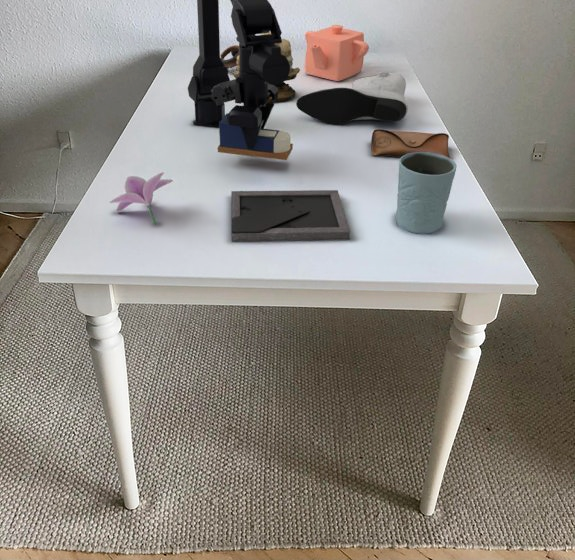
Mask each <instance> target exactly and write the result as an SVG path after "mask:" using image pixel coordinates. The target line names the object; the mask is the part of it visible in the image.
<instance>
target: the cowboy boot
mask: <svg viewBox="0 0 575 560" xmlns="http://www.w3.org/2000/svg"><path fill="white" fill-rule="evenodd" d="M406 88H407V80H406V78H405V76H403V75H402V74H399V73H389V72H381V73H380V74H378V75H372V76H367V77H361V78H357V79H356V80H354V81H353V83H352V87H343V86H342V87H332V88H324V89H318V90H314V91H311V92H309V93H306V94H303V95H301V96H300V97H298V99H297V100H296V102H295V105H296V108H297V109H298V110H299V111H301V113H304V114H305V115H307V116H308V117H311V118H313V119H315V120H316V121H319V122H321V123H325V124H328V125H333V126H340V125H345V124H347V123H350V122H352V121H358V120H359V121H363V120H364V121H365V120H366V121H367V120H374V121H375V120H376V121H381V122H390V123H392V122H394V123H395V122H399V121H401V120H403V119H404V118H405V117H406V114H407V113H408V110H409V109H408V102H407V101H406V98H405V92H406Z"/></svg>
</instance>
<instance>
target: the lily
mask: <svg viewBox="0 0 575 560" xmlns="http://www.w3.org/2000/svg"><path fill="white" fill-rule="evenodd" d="M164 173H165V172H163V171H162V172H160V173H158V174H156V175H154V176H152V177H151V178H149V179H148V180H146V179H145V178H144V177H140V176H135V175H130V176H128V177H126V179H125V182H124V190H125V193H122V194H120V195H119V196H117V197H114V198H113V199H112V200H111V201H109V204H117V203H118V205H117V206H116V209H115V213H119V212H121V211H123V210H124V209H125V208H127V207H129V206H131V205H132V204H142V205H146V207H147V209H148V211H149V214H150V215H151V219H152V220H153V222H154V224H155V225H157V224H158V223H157V221H156V219H155V216H154V214H153V212H152V210H151V207H150V205H152V202H153V197H154V192H156V191H157V190H159V189H160V188H163V187H165V186H166V185H169V184H171V183H172V182H174V180H173V179H171V178H170V179H168V178H163V179H161V178H162V177H163V175H164Z"/></svg>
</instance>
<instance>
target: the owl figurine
mask: <svg viewBox="0 0 575 560" xmlns="http://www.w3.org/2000/svg"><path fill="white" fill-rule="evenodd" d="M266 34H271V32H269V33H263V34H260V35H266ZM281 39H282V43H276V44H275V45H278V46H280V47H281V54H282V55H284V56H285V57H286V58H287V59H288V61H289V65H290V72H289V75H288V77H287V78H286V80H285V81H284V82H282V83H281V84H278V85H275V87H276V88H277V89H278V98H277V100H276V101H275V102H274V101H272V97H270V98H269V100H268V103H278V102H279V103H280V102H286V101H289V100H291V99H293V98H295V96H296V93H297V92H296V90H295V89H294V88H293V87H292V86H290V84H289V83H286V82H288V81H292V80H295V79H296V78H297V75H298V74H299V73H300V72H301V69H300V68H299V67H295V68H294V67H293V61H294V58H293V55H292V45H291V42H290V40H288V39H286V38H281ZM236 69H237V72H234V73H233V78H234V79H236V77H237V76H238V75H239V55H238V56H237V66H236Z"/></svg>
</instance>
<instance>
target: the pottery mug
mask: <svg viewBox="0 0 575 560" xmlns="http://www.w3.org/2000/svg"><path fill="white" fill-rule="evenodd" d="M229 54H230V55H231V57H230V58H228V59H225V58H226V57H227V56H228V55H229ZM238 55H239V44H238V45H236V44H235V45H231V46H228V47H227V48H226V49H225V50H223V51H222V52H221V53H220V58H221V60H222V62H223V63H224V65H225V66H226V67H227V69H228V70H229V69H233V68H234V67H237V56H238Z"/></svg>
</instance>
